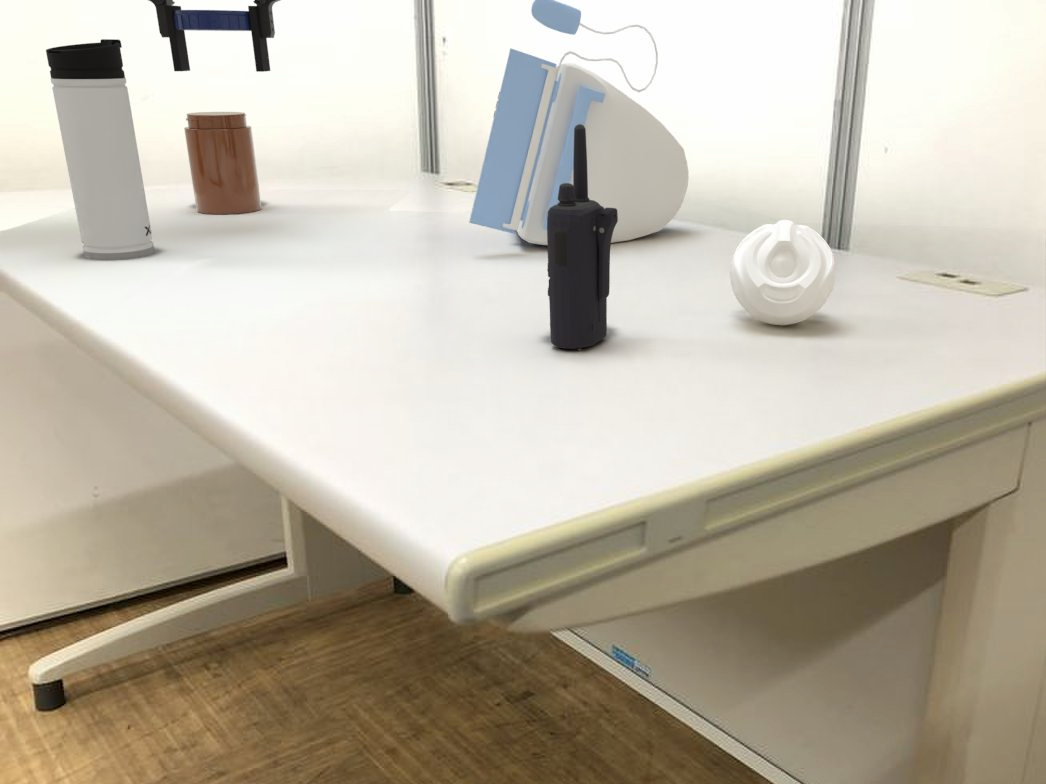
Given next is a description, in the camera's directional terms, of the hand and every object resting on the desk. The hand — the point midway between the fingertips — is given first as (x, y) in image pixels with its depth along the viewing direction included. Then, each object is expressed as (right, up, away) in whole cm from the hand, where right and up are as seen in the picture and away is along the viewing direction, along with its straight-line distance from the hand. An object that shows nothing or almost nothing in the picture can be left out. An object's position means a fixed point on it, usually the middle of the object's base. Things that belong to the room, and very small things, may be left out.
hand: (223, 70), depth 116 cm
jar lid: (0, +5, -2) cm, 6 cm away
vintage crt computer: (+38, -18, +2) cm, 42 cm away
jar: (-7, -10, +19) cm, 23 cm away
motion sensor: (+57, -33, -33) cm, 73 cm away
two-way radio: (+42, -35, -39) cm, 67 cm away
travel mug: (-5, -23, -11) cm, 26 cm away
